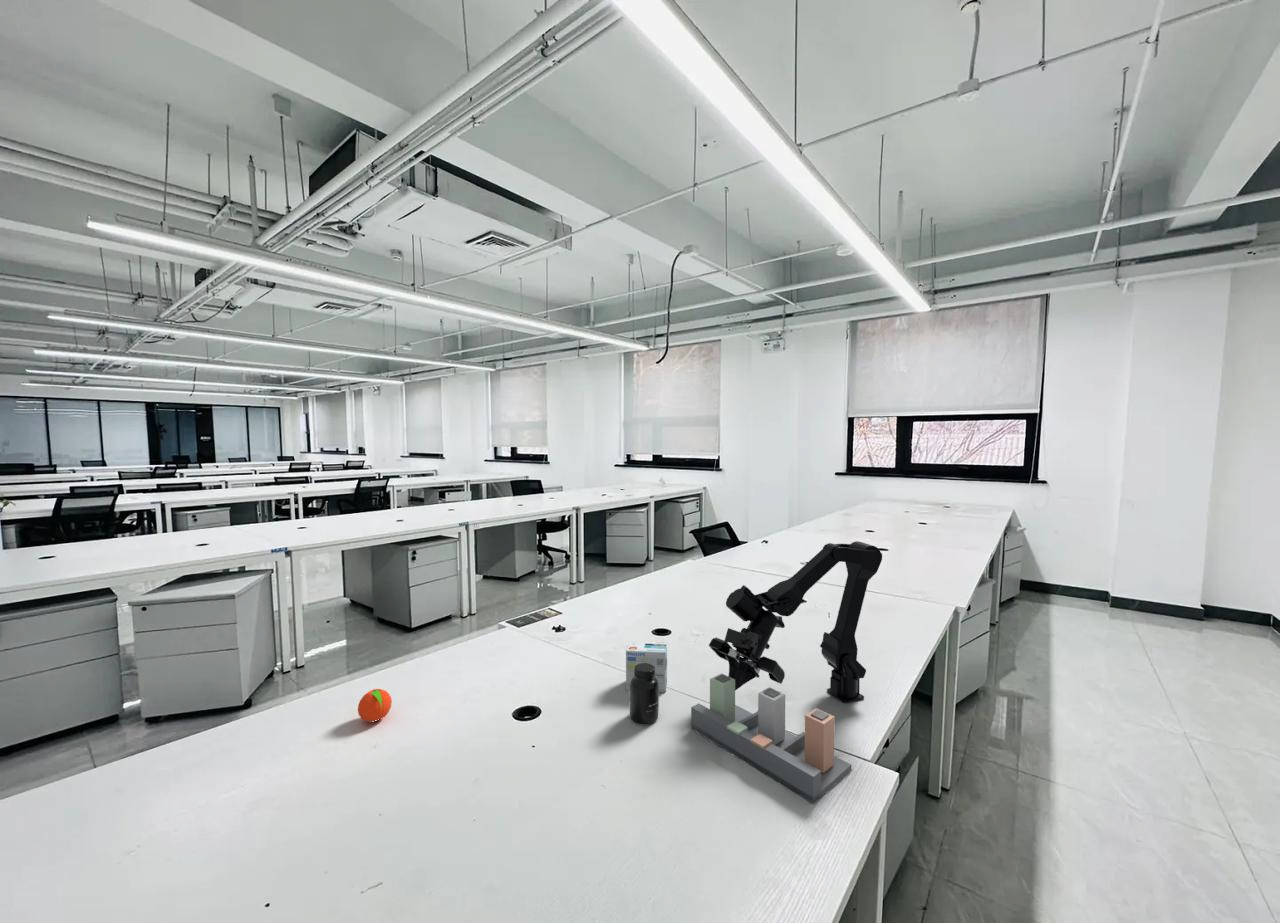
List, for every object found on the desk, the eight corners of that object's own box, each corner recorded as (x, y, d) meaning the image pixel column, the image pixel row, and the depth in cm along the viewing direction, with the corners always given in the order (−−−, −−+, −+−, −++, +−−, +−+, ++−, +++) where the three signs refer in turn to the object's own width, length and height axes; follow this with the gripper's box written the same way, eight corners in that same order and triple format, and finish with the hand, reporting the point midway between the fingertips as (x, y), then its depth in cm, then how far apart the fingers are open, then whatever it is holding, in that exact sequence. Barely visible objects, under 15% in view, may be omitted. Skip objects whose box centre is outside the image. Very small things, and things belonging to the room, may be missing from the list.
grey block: (769, 729, 106) (769, 685, 106) (785, 738, 103) (785, 693, 103) (758, 736, 103) (758, 691, 103) (773, 745, 100) (774, 699, 100)
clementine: (398, 721, 112) (398, 691, 112) (365, 734, 107) (365, 702, 107) (385, 708, 117) (385, 679, 117) (353, 720, 112) (353, 690, 112)
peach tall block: (815, 754, 98) (815, 706, 97) (834, 764, 94) (834, 715, 94) (804, 762, 95) (804, 713, 95) (823, 773, 92) (823, 722, 92)
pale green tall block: (721, 713, 112) (721, 672, 112) (734, 721, 109) (735, 678, 109) (709, 719, 110) (710, 677, 110) (723, 727, 107) (723, 683, 107)
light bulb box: (667, 680, 132) (667, 641, 131) (666, 693, 125) (666, 652, 124) (628, 678, 133) (628, 640, 132) (625, 691, 126) (625, 650, 126)
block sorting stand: (731, 707, 118) (731, 685, 118) (851, 770, 95) (851, 743, 95) (690, 729, 109) (690, 705, 109) (812, 804, 86) (812, 774, 86)
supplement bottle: (656, 727, 109) (656, 675, 109) (626, 724, 111) (626, 672, 110) (660, 711, 116) (661, 662, 116) (633, 708, 118) (633, 659, 117)
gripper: (713, 605, 121) (682, 661, 114) (777, 626, 107) (746, 691, 100) (733, 628, 126) (704, 683, 120) (797, 651, 112) (768, 715, 105)
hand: (728, 692), depth 111 cm, fingers closed, pressing on pale green tall block
